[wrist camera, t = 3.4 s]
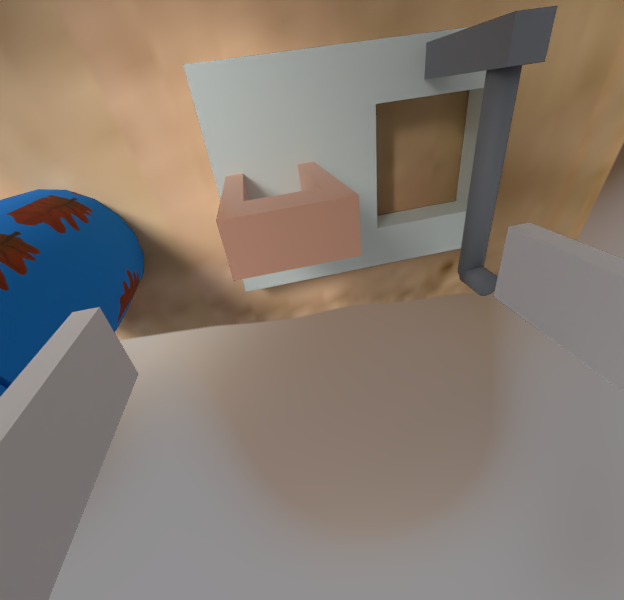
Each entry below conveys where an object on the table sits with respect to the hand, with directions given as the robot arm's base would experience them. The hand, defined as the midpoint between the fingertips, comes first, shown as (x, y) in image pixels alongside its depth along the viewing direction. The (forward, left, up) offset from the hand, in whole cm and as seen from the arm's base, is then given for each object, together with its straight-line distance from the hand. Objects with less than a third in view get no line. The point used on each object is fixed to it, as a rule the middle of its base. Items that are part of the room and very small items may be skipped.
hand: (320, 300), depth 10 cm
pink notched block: (0, 0, -16) cm, 16 cm away
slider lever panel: (+7, 0, -19) cm, 20 cm away
